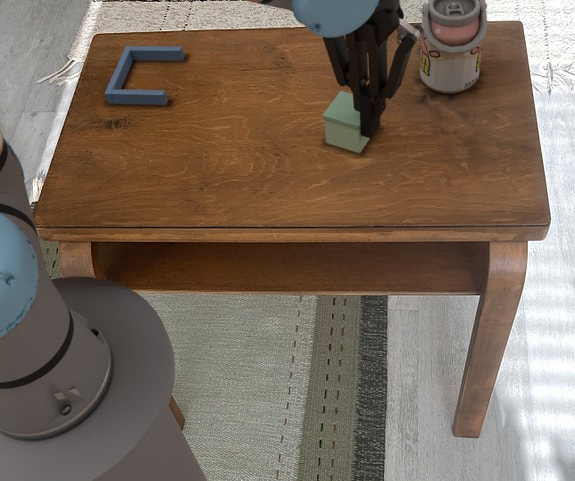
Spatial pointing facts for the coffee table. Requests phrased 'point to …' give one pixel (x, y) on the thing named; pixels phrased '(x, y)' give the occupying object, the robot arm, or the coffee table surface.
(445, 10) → the beverage can
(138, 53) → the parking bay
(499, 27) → the coffee table surface
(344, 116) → the toy box
